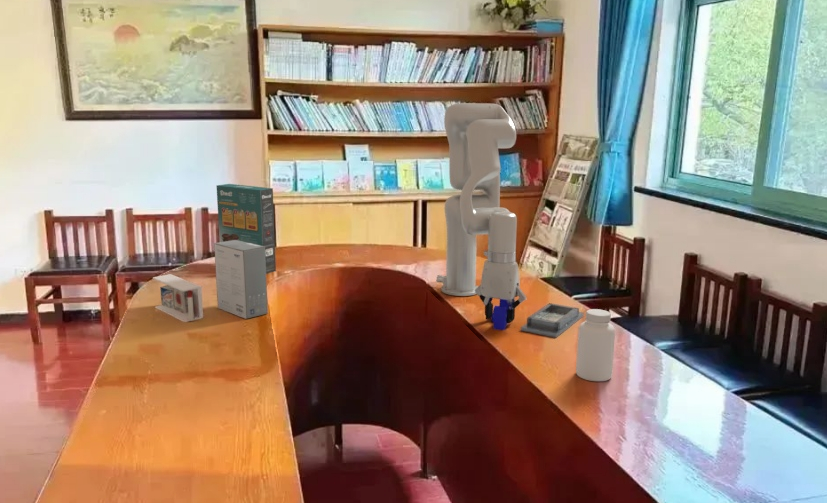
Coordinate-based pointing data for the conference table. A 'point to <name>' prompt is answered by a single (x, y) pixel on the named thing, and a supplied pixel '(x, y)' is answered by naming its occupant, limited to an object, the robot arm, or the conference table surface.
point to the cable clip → (500, 315)
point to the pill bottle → (595, 346)
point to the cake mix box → (247, 217)
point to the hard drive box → (241, 278)
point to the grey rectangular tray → (552, 320)
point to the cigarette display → (180, 298)
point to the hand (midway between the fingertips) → (499, 319)
